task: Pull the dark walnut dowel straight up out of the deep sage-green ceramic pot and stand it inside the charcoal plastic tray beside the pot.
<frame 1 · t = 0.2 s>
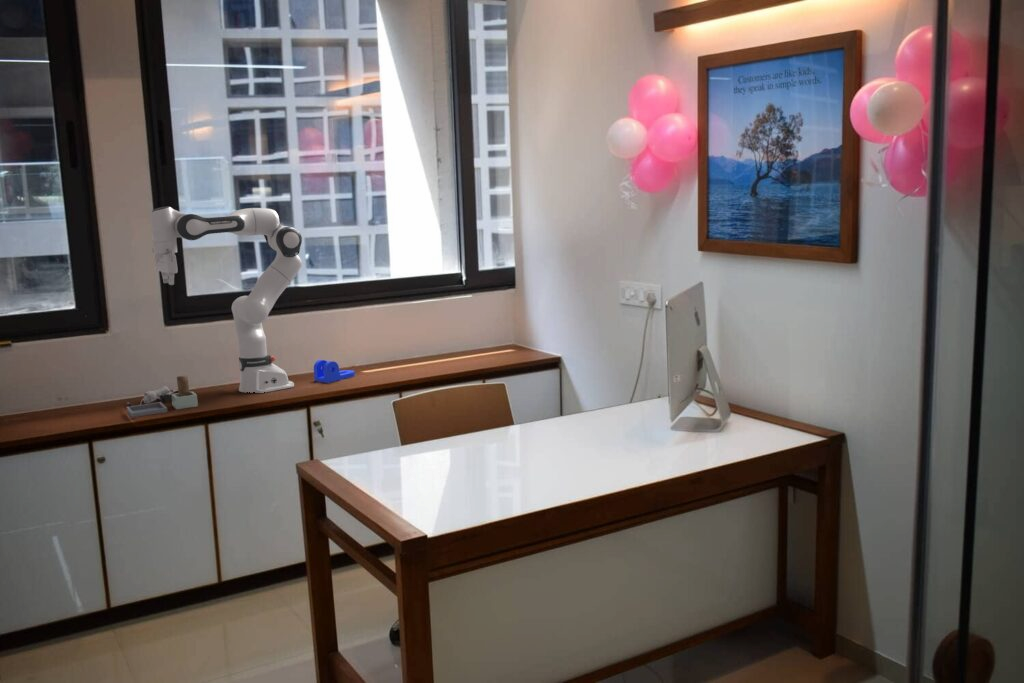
hand: (168, 283, 366), 47 cm above the table, tool pointing down, fingers open, 8 cm apart
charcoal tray: (147, 413, 353), on the table
sage pot: (185, 408, 360), on the table
walnut dowel: (185, 405, 359), point 1 cm above the table, touching sage pot
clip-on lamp: (154, 405, 369), on the table
bracket: (337, 379, 405), on the table
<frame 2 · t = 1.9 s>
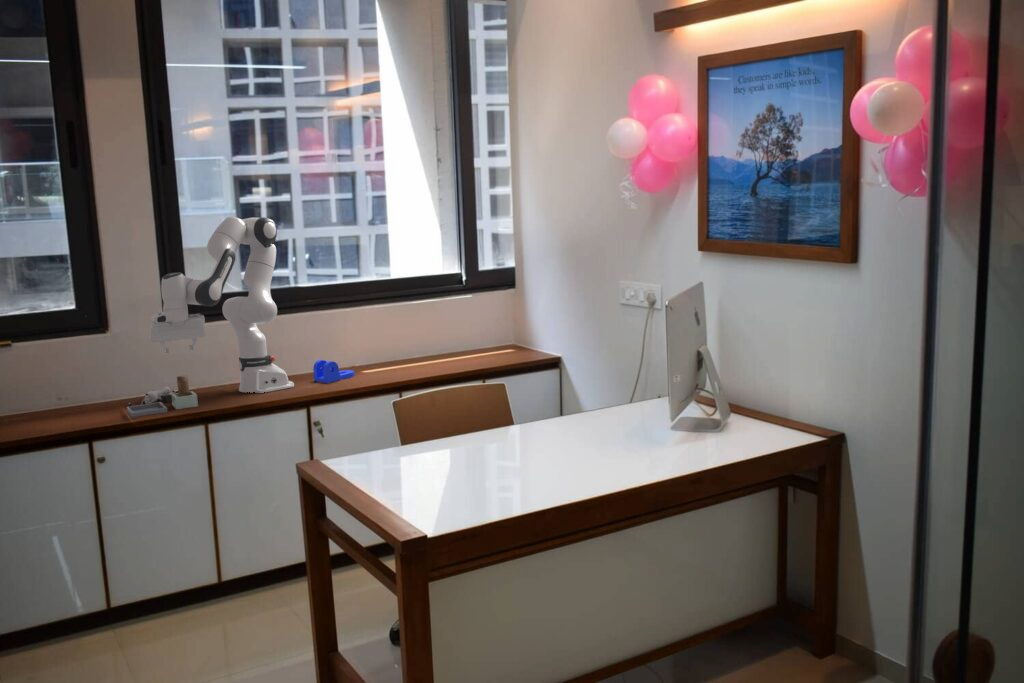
hand: (179, 351, 356), 22 cm above the table, tool pointing down, fingers open, 8 cm apart
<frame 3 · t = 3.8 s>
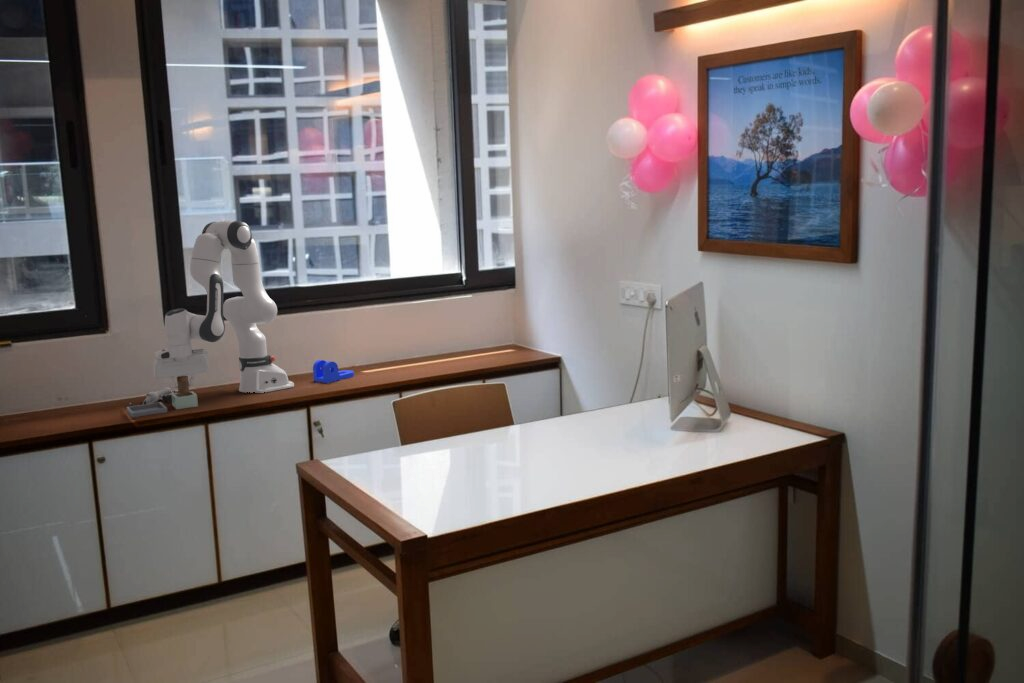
hand: (183, 386, 358), 9 cm above the table, tool pointing down, fingers closed on walnut dowel, 4 cm apart
walnut dowel: (185, 405, 359), point 1 cm above the table, touching gripper, sage pot
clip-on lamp: (156, 406, 367), on the table
everything else where it was.
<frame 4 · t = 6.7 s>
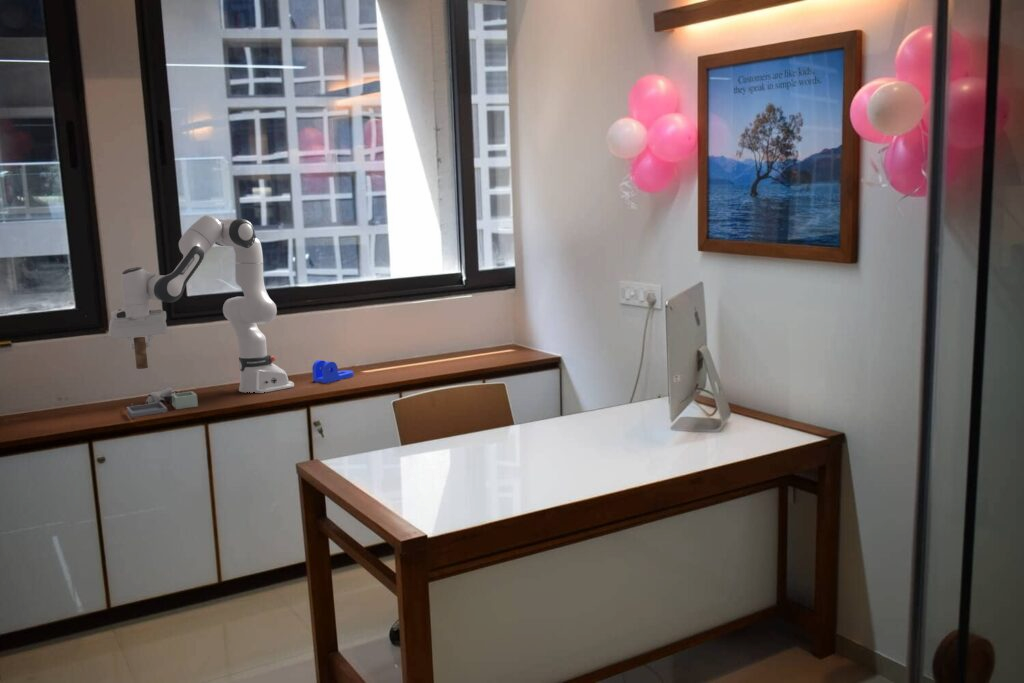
hand: (140, 348, 348), 25 cm above the table, tool pointing down, fingers closed on walnut dowel, 4 cm apart
walnut dowel: (142, 367, 349), point 18 cm above the table, touching gripper
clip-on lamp: (157, 406, 366), on the table
everything else where it was.
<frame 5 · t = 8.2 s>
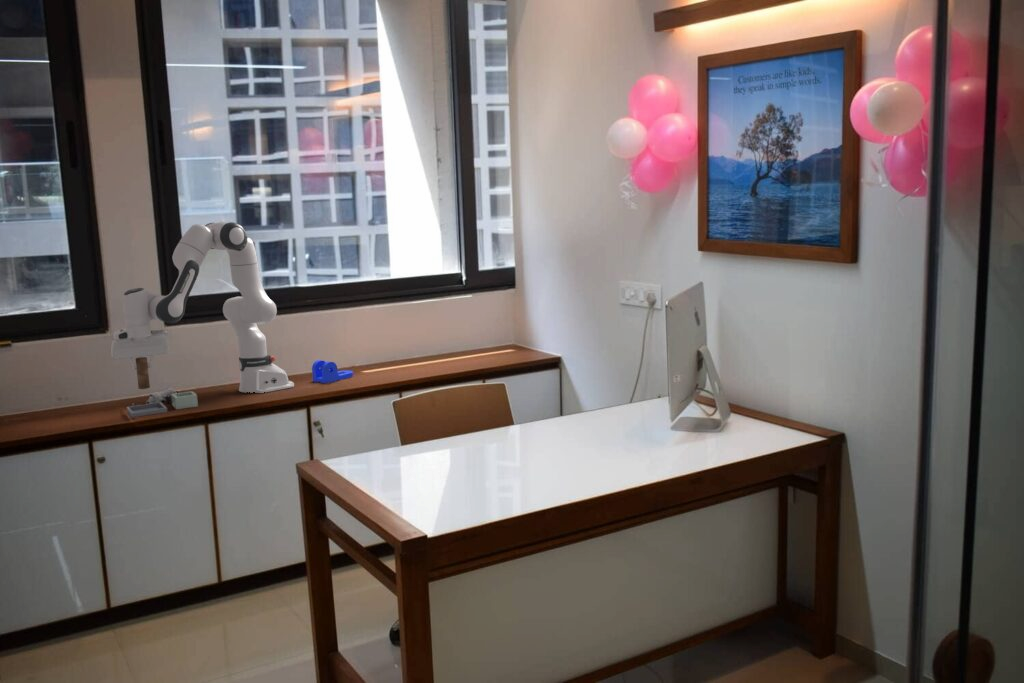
hand: (142, 368, 350), 18 cm above the table, tool pointing down, fingers closed on walnut dowel, 4 cm apart
walnut dowel: (144, 387, 351), point 10 cm above the table, touching gripper
when the fingers open (10 cm above the table, at t = 9.9 s): walnut dowel drops 1 cm, resting on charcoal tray.
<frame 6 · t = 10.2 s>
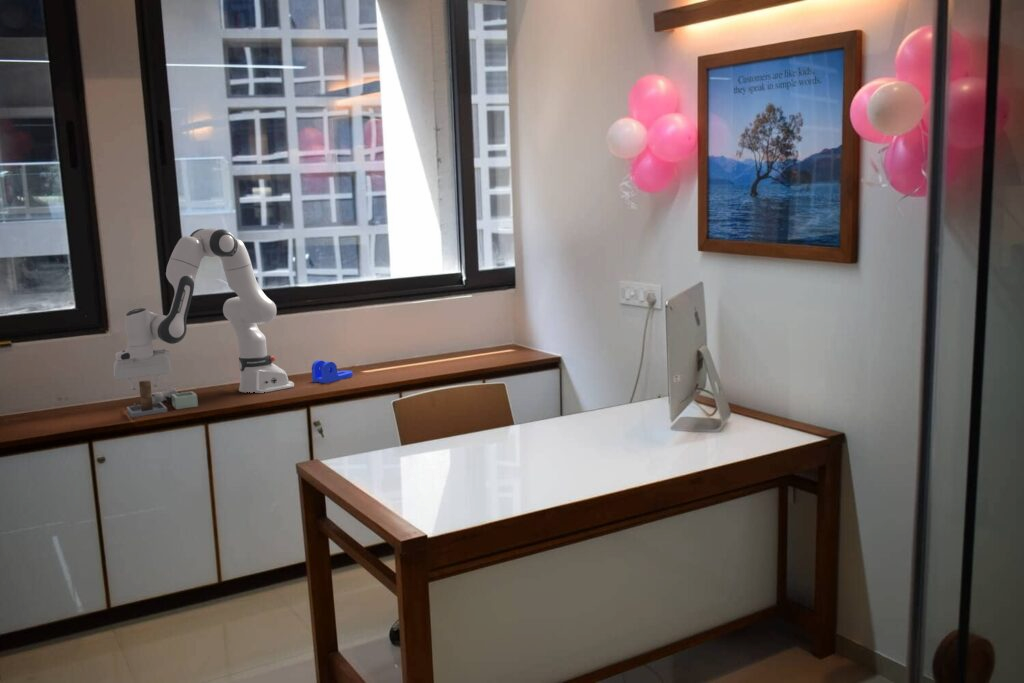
hand: (144, 388, 351), 10 cm above the table, tool pointing down, fingers open, 7 cm apart
walnut dowel: (147, 411, 352), point 1 cm above the table, touching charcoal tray
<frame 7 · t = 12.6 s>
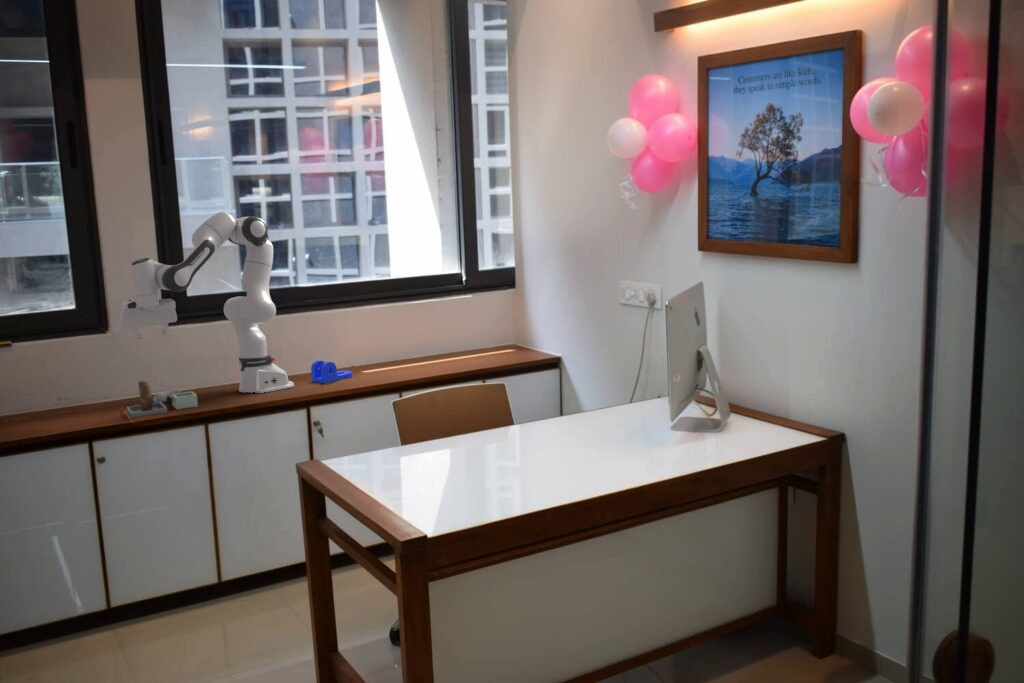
hand: (151, 336, 357), 28 cm above the table, tool pointing down, fingers open, 8 cm apart
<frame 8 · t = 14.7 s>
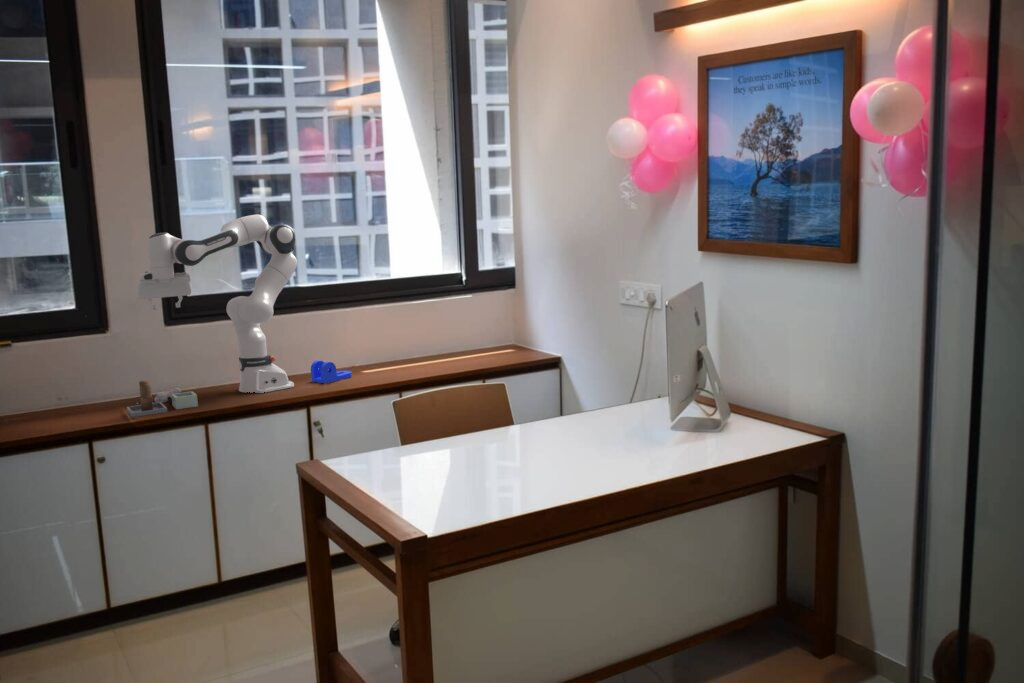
hand: (165, 308, 370), 37 cm above the table, tool pointing down, fingers open, 8 cm apart
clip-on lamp: (163, 406, 365), on the table, touching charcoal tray
at the end: walnut dowel inside the target area on the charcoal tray (0.1 cm from its centre), point 1.0 cm above the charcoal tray's base; walnut dowel tilted 1°; the gripper is holding nothing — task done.
